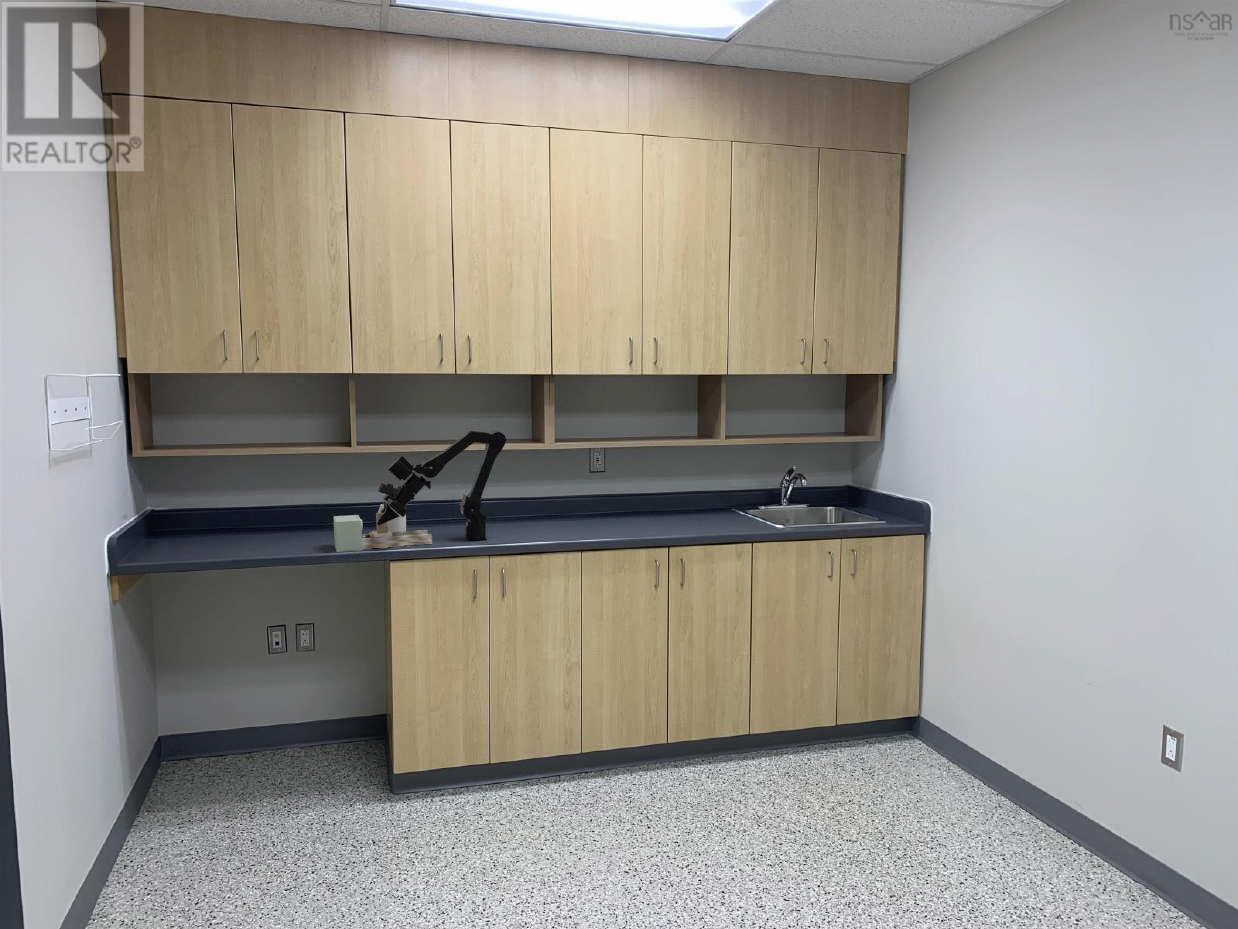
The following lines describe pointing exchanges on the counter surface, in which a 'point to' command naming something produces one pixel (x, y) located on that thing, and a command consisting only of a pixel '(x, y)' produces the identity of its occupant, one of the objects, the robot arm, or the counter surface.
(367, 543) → the patterned tray
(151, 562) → the counter surface
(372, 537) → the button
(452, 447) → the robot arm
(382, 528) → the brown post on base
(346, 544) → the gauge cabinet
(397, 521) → the mug
